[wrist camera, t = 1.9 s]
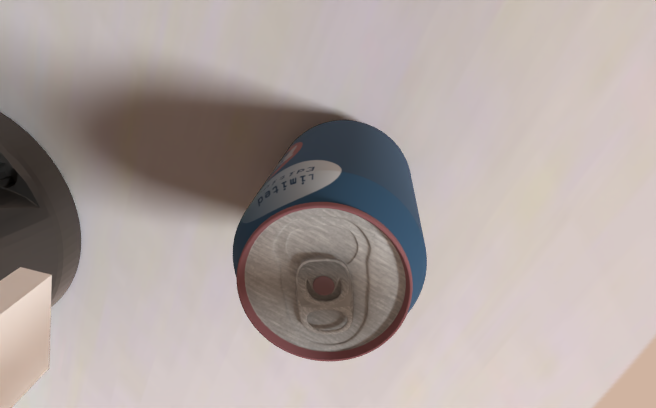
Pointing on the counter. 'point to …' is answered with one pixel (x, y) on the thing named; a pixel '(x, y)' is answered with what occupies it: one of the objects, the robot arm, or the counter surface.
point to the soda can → (332, 245)
